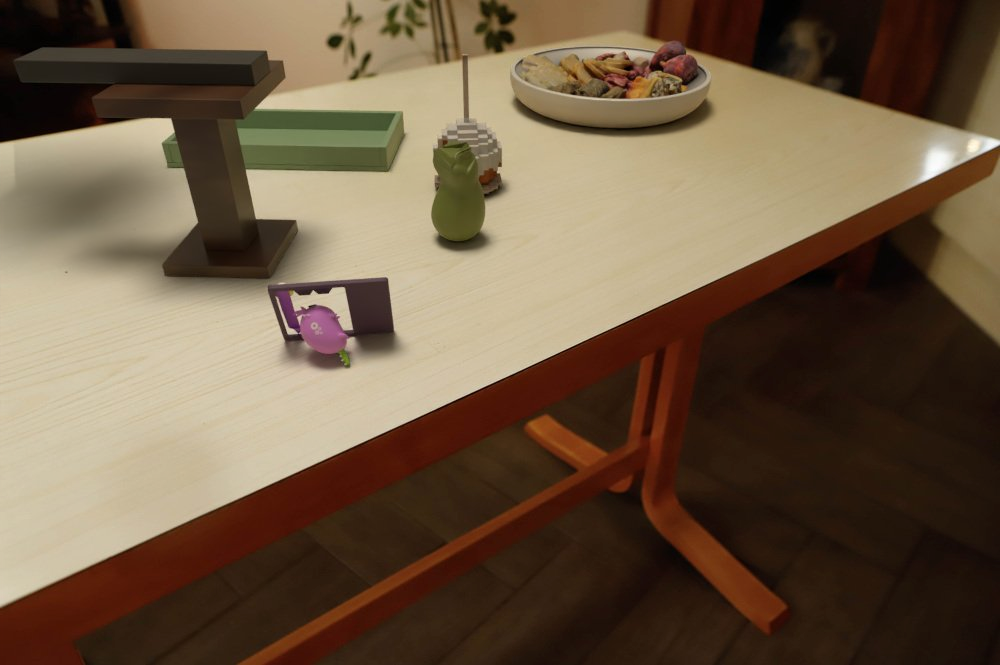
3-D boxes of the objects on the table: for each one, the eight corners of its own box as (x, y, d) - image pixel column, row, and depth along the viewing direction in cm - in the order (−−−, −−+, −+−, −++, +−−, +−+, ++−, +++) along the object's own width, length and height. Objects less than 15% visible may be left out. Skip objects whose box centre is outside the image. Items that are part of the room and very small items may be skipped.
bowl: (583, 150, 95) (588, 90, 90) (475, 91, 116) (474, 40, 112) (748, 114, 107) (759, 59, 103) (623, 66, 128) (627, 19, 124)
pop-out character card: (387, 269, 56) (267, 277, 55) (390, 323, 53) (263, 333, 52) (393, 321, 61) (284, 329, 60) (396, 373, 58) (282, 382, 57)
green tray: (167, 167, 90) (161, 143, 88) (208, 129, 101) (203, 107, 99) (388, 171, 89) (385, 147, 87) (404, 133, 100) (402, 111, 98)
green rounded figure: (494, 242, 74) (494, 147, 68) (449, 255, 71) (445, 158, 66) (466, 221, 78) (464, 130, 72) (423, 233, 75) (417, 140, 69)
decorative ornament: (434, 174, 88) (427, 46, 79) (497, 172, 89) (498, 44, 80) (435, 201, 82) (428, 65, 73) (503, 199, 82) (504, 63, 74)
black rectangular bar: (20, 82, 61) (12, 60, 60) (49, 68, 64) (42, 47, 63) (255, 86, 60) (250, 63, 59) (270, 71, 64) (267, 50, 63)
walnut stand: (149, 281, 67) (90, 97, 57) (198, 223, 77) (155, 58, 67) (277, 284, 67) (239, 100, 57) (310, 225, 77) (283, 60, 67)
